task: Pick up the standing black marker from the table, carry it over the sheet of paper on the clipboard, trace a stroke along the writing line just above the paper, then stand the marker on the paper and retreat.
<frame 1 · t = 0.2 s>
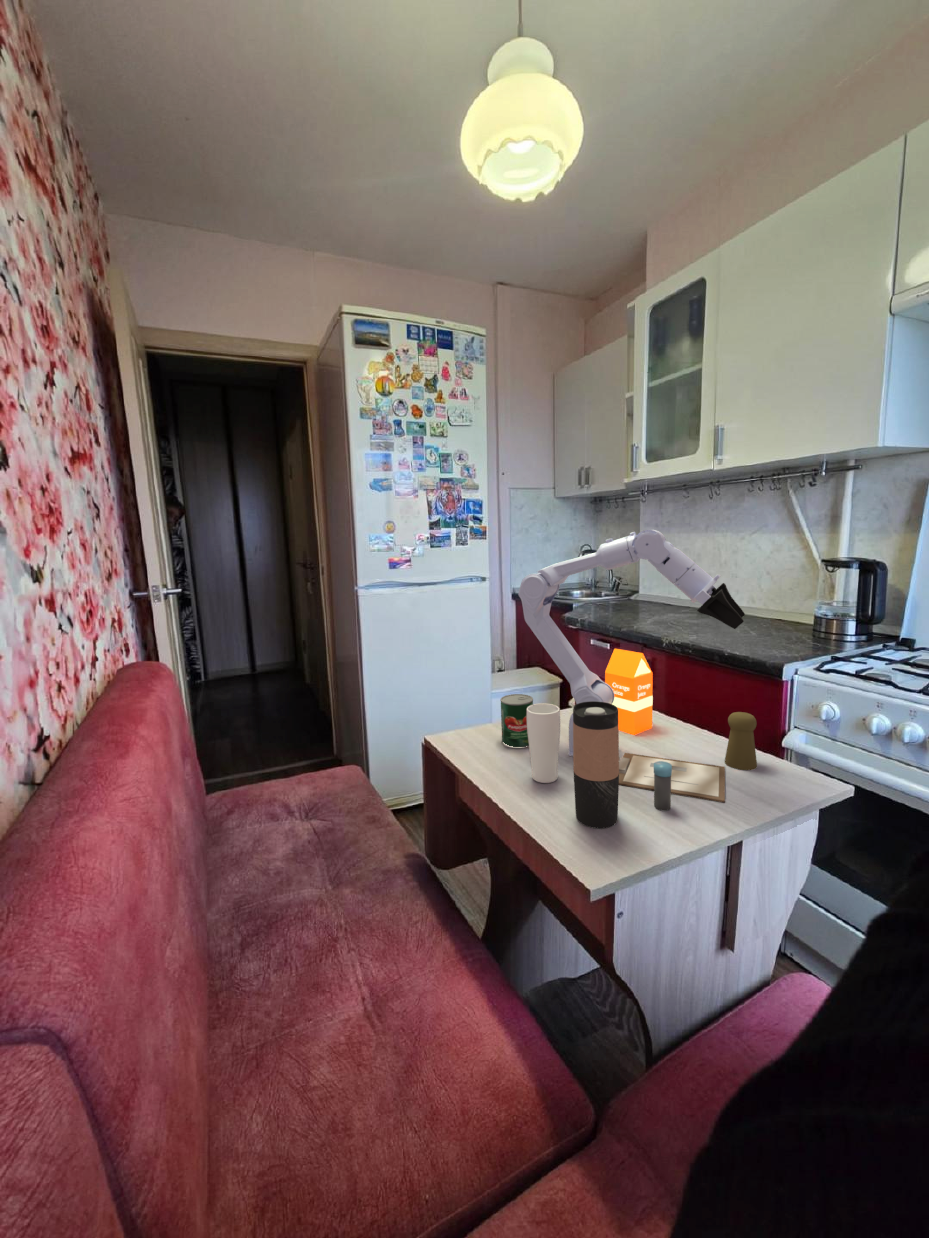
hand: (740, 621, 97), 31 cm above the table, tool tilted 45°, fingers open, 7 cm apart
clipboard: (669, 775, 103), on the table
canned tomato: (518, 742, 124), on the table
orange juice: (628, 727, 130), on the table
cork: (740, 764, 107), on the table
marker: (662, 806, 92), on the table
travel mug: (596, 818, 89), on the table
drinking glass: (544, 779, 105), on the table
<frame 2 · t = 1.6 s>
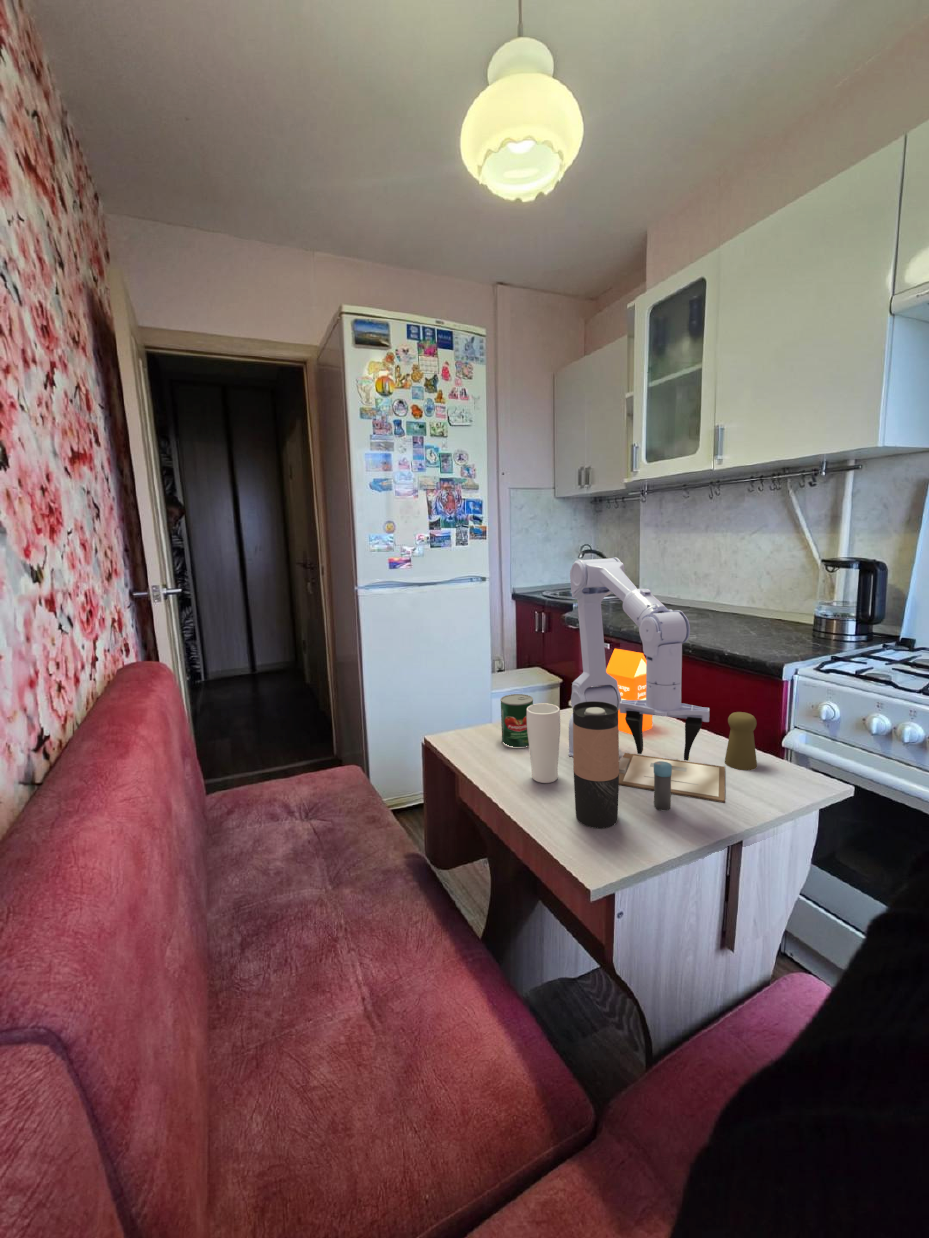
hand: (662, 755, 90), 10 cm above the table, tool pointing down, fingers open, 7 cm apart
nothing on the table moved.
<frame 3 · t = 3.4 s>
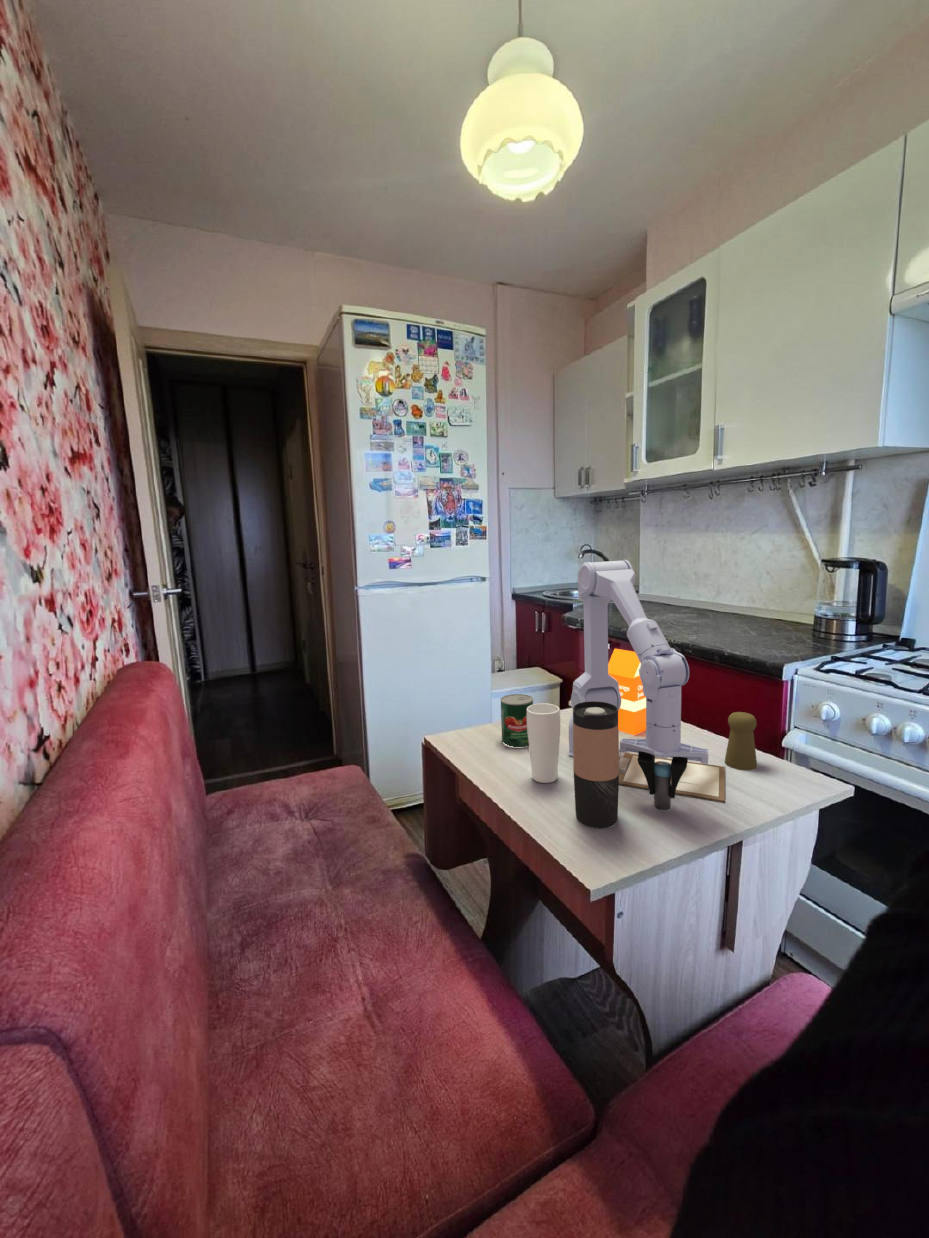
hand: (662, 794, 91), 2 cm above the table, tool pointing down, fingers closed on marker, 3 cm apart
marker: (662, 806, 92), on the table, touching gripper
everything else where it was.
when the fingers open (3 cm above the table, at t = 8.4 s): marker stays where it is, resting on clipboard.
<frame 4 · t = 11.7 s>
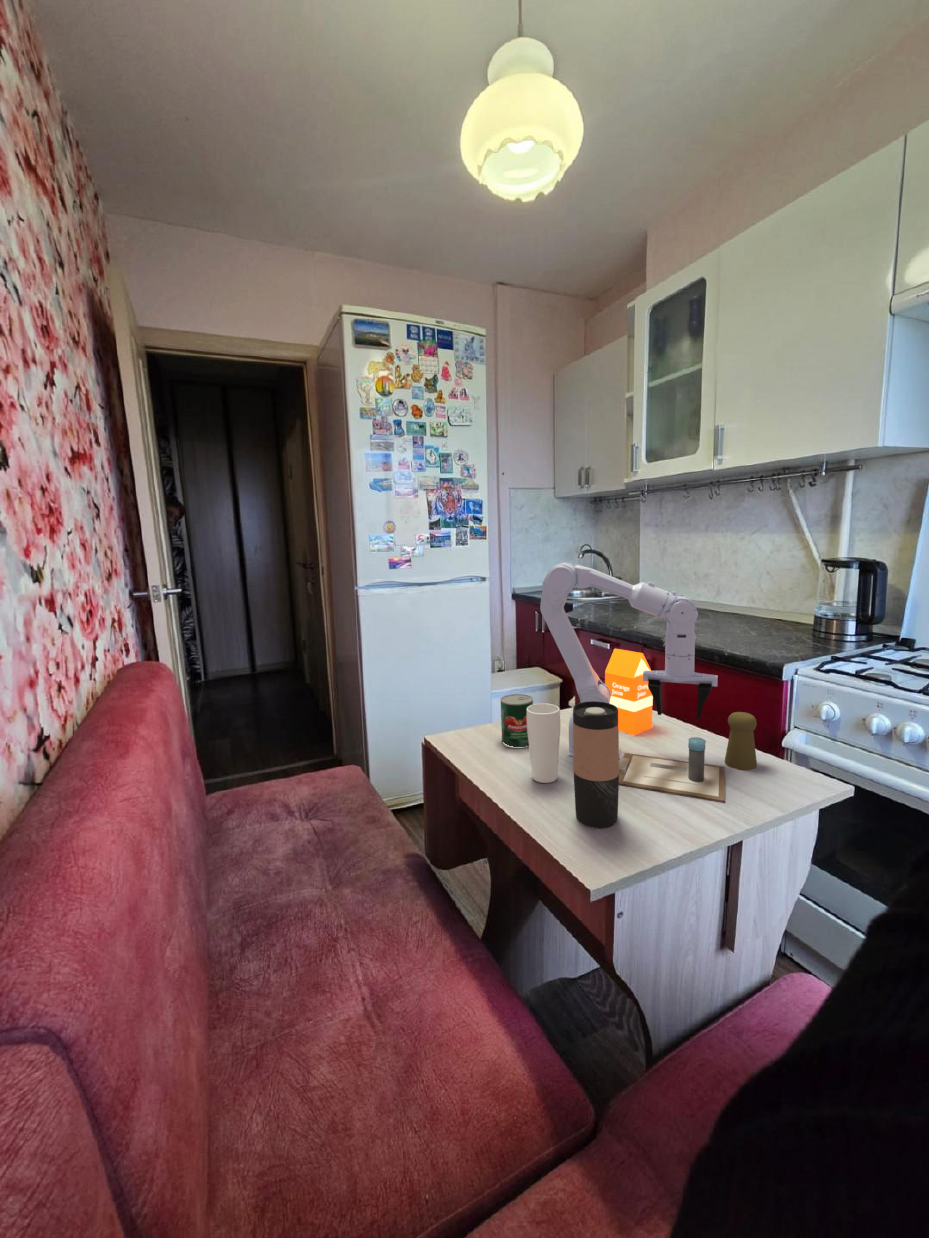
hand: (678, 715, 109), 10 cm above the table, tool pointing down, fingers open, 7 cm apart
marker: (696, 778, 100), point 1 cm above the table, touching clipboard
everything else where it was.
at the end: marker inside the target area (0.0 cm from its centre), point 0.5 cm above the table; marker tilted 0°; the gripper is holding nothing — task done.
